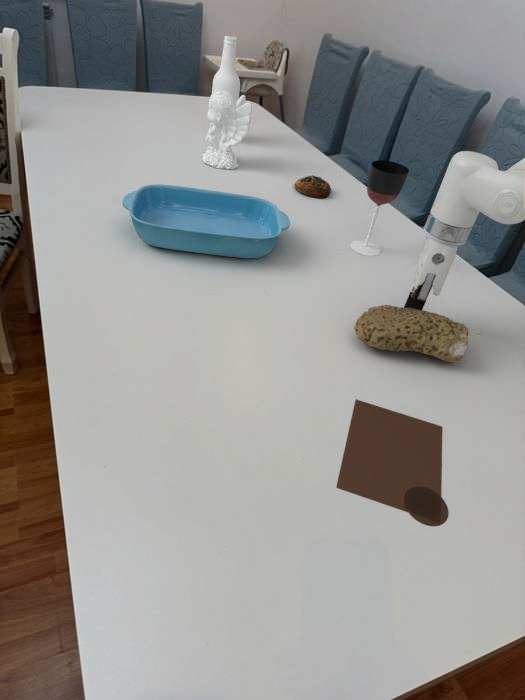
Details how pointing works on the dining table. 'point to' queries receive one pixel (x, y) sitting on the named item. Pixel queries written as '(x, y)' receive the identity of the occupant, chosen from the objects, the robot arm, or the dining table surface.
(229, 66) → the alcohol
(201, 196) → the casserole dish
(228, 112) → the cherub figurine
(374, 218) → the wineglass
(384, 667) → the dining table surface
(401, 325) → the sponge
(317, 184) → the bread roll
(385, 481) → the brown panel with disc
